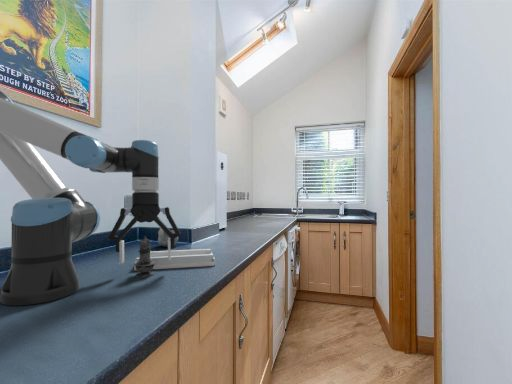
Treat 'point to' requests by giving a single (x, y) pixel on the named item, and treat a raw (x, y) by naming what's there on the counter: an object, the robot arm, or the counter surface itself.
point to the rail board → (181, 258)
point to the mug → (165, 238)
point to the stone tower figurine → (144, 260)
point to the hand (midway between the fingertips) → (146, 261)
